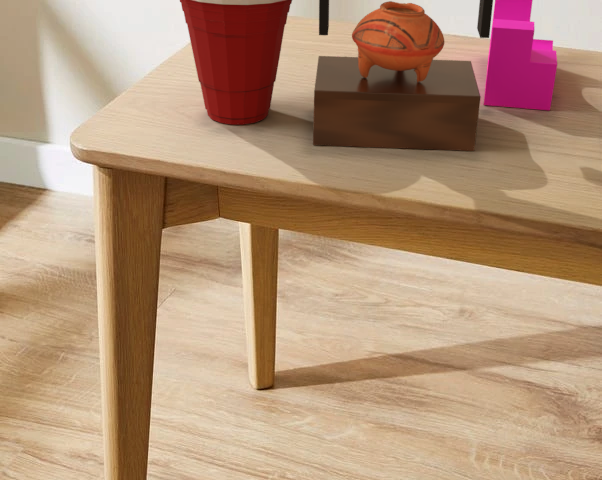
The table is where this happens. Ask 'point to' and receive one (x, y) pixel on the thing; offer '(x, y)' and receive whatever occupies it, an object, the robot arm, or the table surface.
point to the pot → (397, 39)
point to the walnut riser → (395, 106)
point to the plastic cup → (236, 54)
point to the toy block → (518, 60)
